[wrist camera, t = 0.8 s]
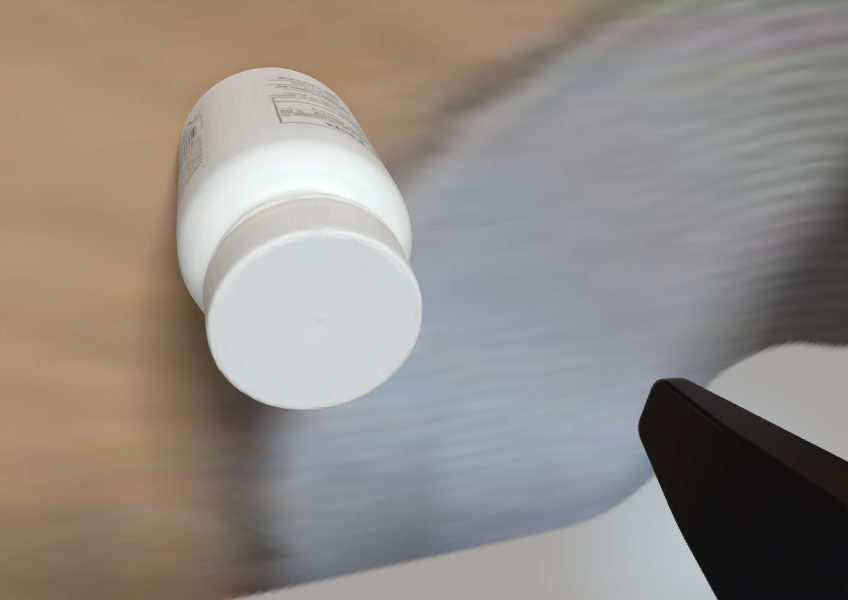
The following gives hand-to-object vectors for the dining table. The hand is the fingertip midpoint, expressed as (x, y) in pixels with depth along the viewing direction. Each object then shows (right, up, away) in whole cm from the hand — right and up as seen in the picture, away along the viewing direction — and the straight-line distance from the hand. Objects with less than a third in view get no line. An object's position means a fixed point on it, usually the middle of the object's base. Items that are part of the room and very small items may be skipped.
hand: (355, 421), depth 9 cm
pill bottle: (-3, +5, +8) cm, 10 cm away
